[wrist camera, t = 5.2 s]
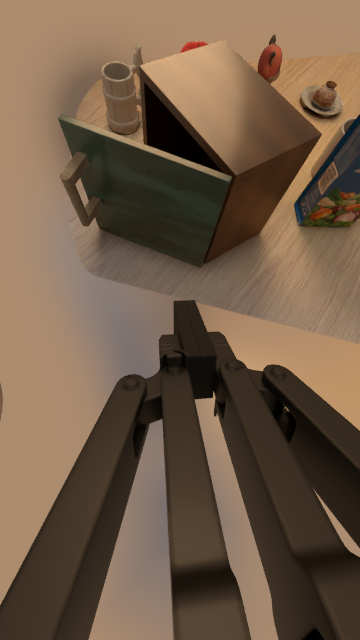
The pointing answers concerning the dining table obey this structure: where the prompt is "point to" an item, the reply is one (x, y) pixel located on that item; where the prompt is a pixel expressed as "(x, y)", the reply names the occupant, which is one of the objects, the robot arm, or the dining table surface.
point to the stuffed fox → (270, 61)
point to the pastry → (322, 99)
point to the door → (143, 191)
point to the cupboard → (226, 132)
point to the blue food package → (334, 186)
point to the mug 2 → (332, 144)
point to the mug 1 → (122, 94)
